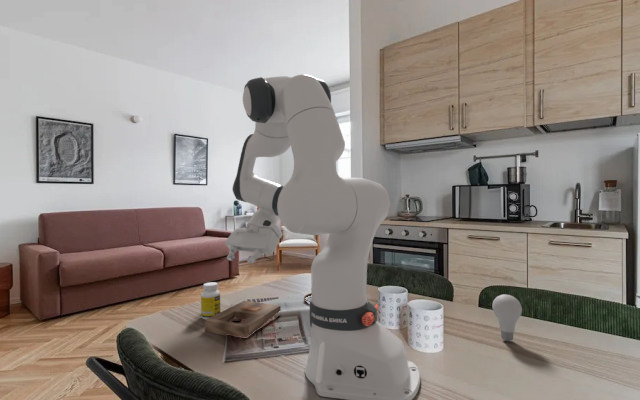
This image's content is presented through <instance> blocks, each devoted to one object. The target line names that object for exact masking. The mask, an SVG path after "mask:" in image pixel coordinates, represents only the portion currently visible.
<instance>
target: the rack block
mask: <svg viewBox="0 0 640 400" xmlns="http://www.w3.org/2000/svg"><path fill="white" fill-rule="evenodd" d="M279 311H282V310H281V305H278V304H270V303H264V302H257V301H248V300H243V301H241V302H239V303H237V304H234V305H233V306H230V307H229V308H227V309H226V308H225V310H222V311H220V313H218V314H216V315H214V316H212V317H210V318H208V319H204V332H206V333H209V334H210V333H211V334H217V335H222V336H225V337H228V336H227V334H232V335H236V336H241V337H247V336H248V335H250V334H252V333H253V332H254V331H255V330H257V329H258V328H260V327H261V326H262V325H263V324H264V323H266V322H267V321H268V320H269V319H270V318H272V317H273V316H274V315H275V314H276V313H278V312H279ZM234 317H236V318H243V319H246V320H244V321H243V322H229V321H230V320H231V319H233V318H234Z"/></svg>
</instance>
